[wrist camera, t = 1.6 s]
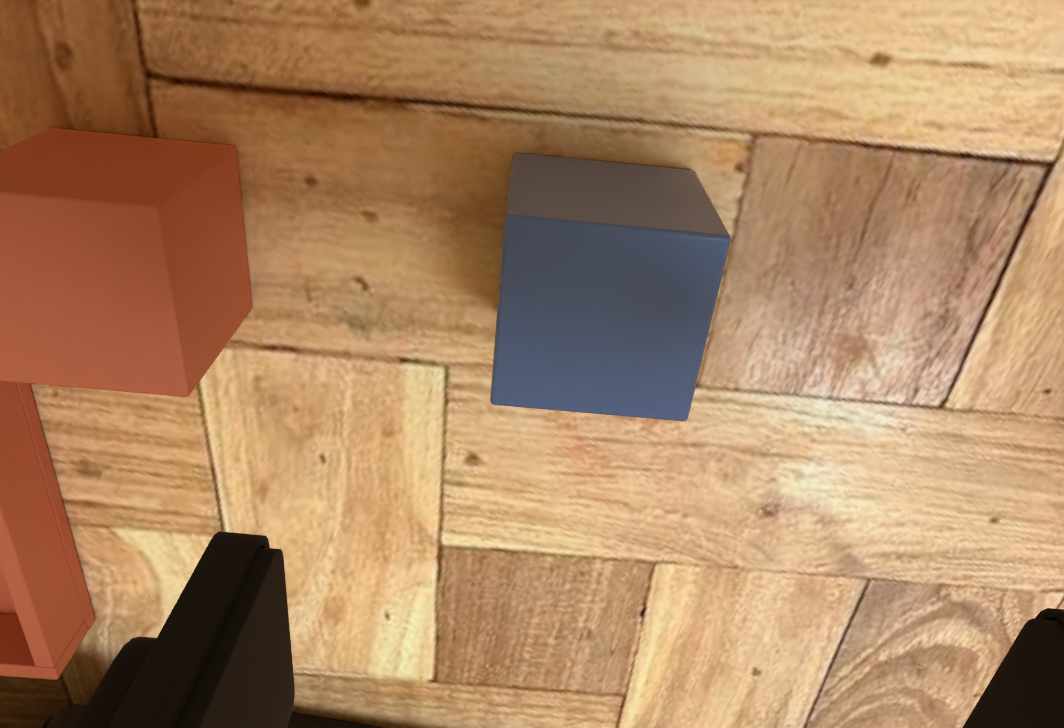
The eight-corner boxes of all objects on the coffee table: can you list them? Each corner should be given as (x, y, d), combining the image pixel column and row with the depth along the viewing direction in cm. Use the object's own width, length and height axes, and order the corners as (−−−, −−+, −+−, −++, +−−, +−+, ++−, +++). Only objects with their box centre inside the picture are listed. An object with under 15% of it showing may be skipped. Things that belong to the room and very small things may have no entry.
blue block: (513, 151, 19) (505, 214, 15) (695, 169, 19) (732, 237, 15) (500, 314, 21) (489, 405, 17) (662, 329, 21) (687, 423, 17)
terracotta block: (50, 126, 18) (-77, 184, 15) (237, 144, 19) (158, 206, 15) (87, 293, 21) (-15, 380, 17) (253, 308, 21) (189, 399, 17)
